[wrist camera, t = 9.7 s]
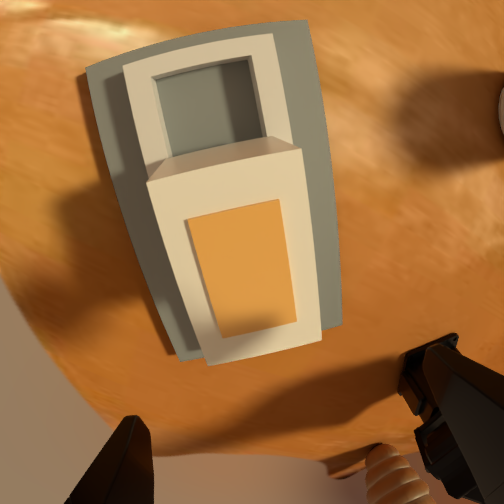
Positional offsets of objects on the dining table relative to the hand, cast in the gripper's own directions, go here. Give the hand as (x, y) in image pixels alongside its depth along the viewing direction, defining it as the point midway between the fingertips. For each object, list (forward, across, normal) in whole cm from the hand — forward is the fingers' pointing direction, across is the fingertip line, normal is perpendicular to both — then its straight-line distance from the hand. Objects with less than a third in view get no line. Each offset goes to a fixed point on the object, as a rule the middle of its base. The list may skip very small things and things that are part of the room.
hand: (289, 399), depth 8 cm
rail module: (+11, 0, -2) cm, 11 cm away
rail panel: (+12, 0, -2) cm, 12 cm away
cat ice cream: (+13, -12, +34) cm, 38 cm away
